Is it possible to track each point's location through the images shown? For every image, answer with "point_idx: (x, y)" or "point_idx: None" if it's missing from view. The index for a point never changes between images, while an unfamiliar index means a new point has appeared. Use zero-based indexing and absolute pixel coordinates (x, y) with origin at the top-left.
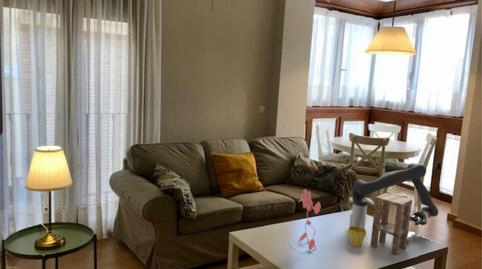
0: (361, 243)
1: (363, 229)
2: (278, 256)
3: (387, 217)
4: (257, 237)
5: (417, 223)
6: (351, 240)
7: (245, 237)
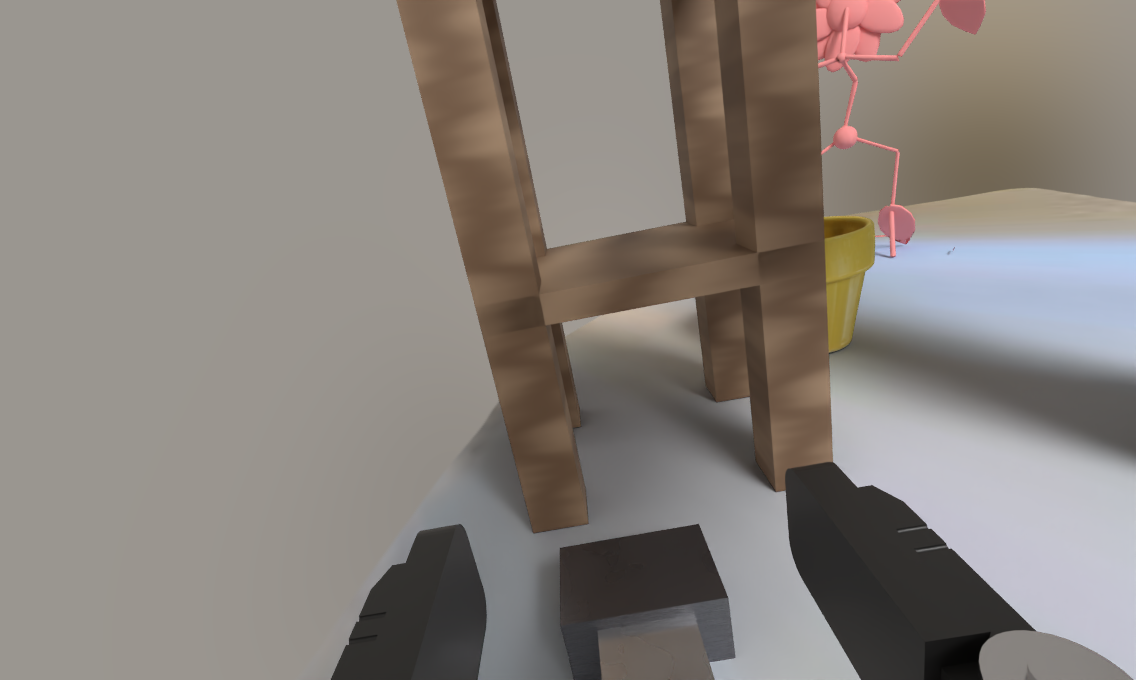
0: None
1: None
2: None
3: (742, 174)
4: (970, 207)
5: (389, 586)
6: None
7: (972, 199)
